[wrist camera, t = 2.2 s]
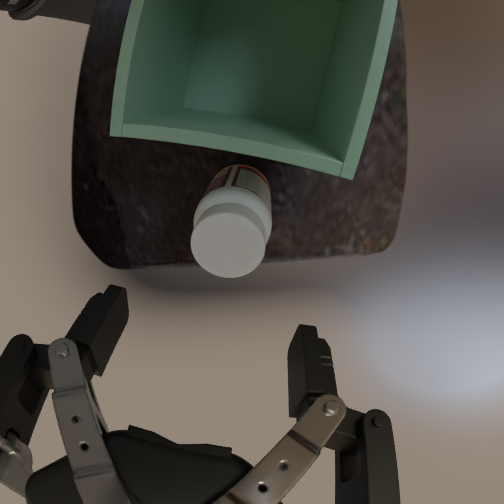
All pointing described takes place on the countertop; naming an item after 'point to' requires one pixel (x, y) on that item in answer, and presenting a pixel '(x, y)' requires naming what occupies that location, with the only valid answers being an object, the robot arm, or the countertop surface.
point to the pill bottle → (233, 222)
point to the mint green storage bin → (255, 76)
